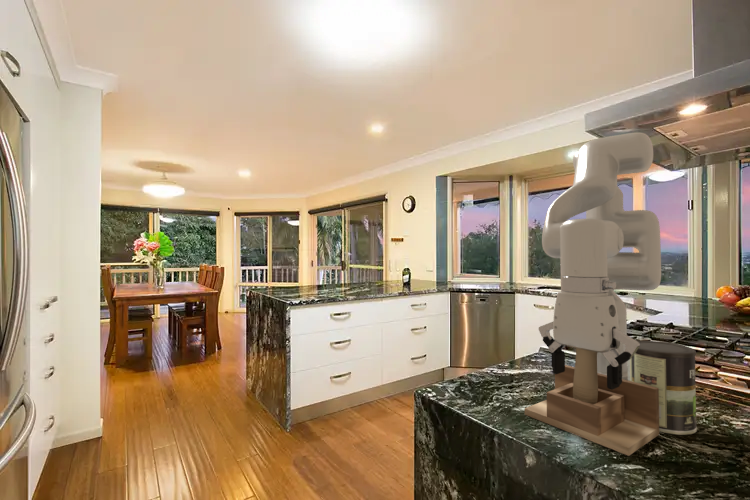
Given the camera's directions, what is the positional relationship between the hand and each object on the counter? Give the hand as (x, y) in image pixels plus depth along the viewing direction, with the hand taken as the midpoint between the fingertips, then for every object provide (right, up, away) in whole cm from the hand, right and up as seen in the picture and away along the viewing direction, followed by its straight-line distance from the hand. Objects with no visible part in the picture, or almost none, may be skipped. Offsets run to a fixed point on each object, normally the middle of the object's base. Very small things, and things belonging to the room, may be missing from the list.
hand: (584, 379), depth 68 cm
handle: (0, -7, 0) cm, 7 cm away
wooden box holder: (+1, -8, 0) cm, 8 cm away
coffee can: (+15, -9, +1) cm, 17 cm away
